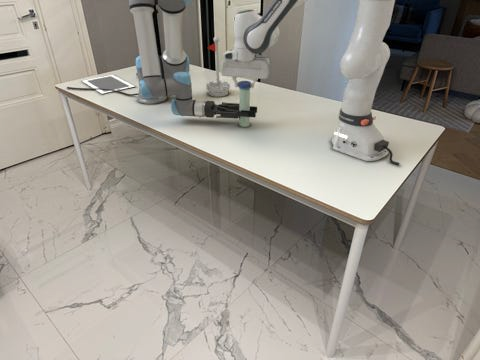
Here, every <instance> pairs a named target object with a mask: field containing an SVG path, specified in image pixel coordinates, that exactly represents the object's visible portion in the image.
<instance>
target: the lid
mask: <svg viewBox="0 0 480 360" xmlns="http://www.w3.org/2000/svg"><path fill="white" fill-rule="evenodd" d="M238 82H239V83H238V87H237V88H241V89H248V88H250V84H251V83H252V82H251V81H249V80H240V81H238ZM250 89H251V88H250Z"/></svg>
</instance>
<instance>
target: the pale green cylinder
mask: <svg viewBox="0 0 480 360" xmlns="http://www.w3.org/2000/svg"><path fill="white" fill-rule="evenodd" d="M238 88H239V87H238ZM238 91H239V92H238V93H239V96H238V97H239V98H238V102H239V103H238V104H239V111H241V110H247V111H250V106H251V88H248V89H241V88H239V89H238ZM250 118H251V117H241V118H240V119H239V118H238V120H239V121H238V122H239V123H238V124H239V127H242V128H247V127H249V126H250V121H251V119H250Z"/></svg>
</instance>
